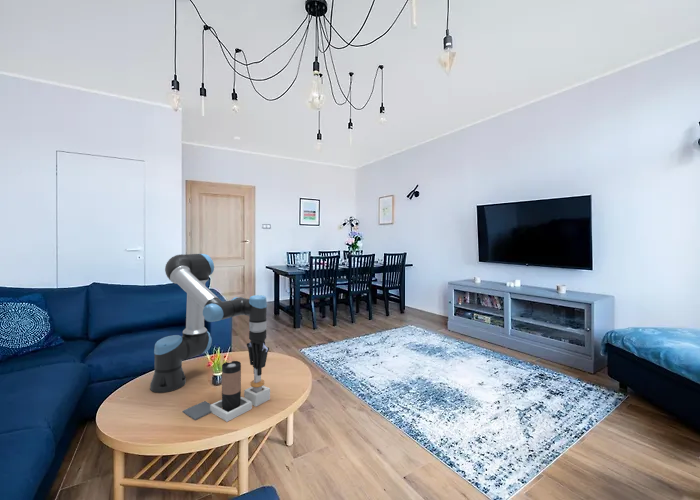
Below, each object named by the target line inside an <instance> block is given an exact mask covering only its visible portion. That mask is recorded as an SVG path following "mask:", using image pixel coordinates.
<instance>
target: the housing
mask: <svg viewBox="0 0 700 500" xmlns="http://www.w3.org/2000/svg"><path fill="white" fill-rule="evenodd" d="M243 395H244V397H243V398H245V399H247V400H249V401H251V402H252V407H258V406H260V405H262V404H264V403H266V402H267V401H269V400H270V399H271V388H270V387H267V386H265V385H263V386H262V391H260V392H258V393H255V392H253V387H251V386H250V387H248V388H246V389H244V391H243Z"/></svg>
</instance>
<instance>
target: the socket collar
mask: <svg viewBox="0 0 700 500" xmlns="http://www.w3.org/2000/svg"><path fill="white" fill-rule="evenodd" d="M210 404H211V405H210V411H211V413H210V414H213V415H214V416H217V417H218V418H220V419H221V420H223V421H225V422H226V423H228V422H229V421H232V420H234V419H235V418H237V417H240V416H241V415H243V414H245V413H247V412H248V411H251V410H252V409H253V405H252V402H251V401H249V400H247V399H245V398H244V397H243V396H241V399H240V406H239V407H237V408H235V409H233V410H231V411H229V412H227V411H225V410H223V409H222V399H219V400H218V401H216V402H213V403H210Z"/></svg>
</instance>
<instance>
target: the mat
mask: <svg viewBox="0 0 700 500" xmlns="http://www.w3.org/2000/svg"><path fill="white" fill-rule="evenodd" d="M211 404H212V403H209V402H208V401H206V400H204V401H202V402H200V403H196V404H195V405H193V406H190V407H188V408H186V409H183V410H182V413H183V414H185V415H187V416H188V417H189V418H191V419H192V420H194V421H197V420H200V419H202V418H203V417H205V416H208V415H209V414H212V413H211V411H210V405H211Z"/></svg>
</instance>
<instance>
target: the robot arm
mask: <svg viewBox="0 0 700 500" xmlns="http://www.w3.org/2000/svg"><path fill="white" fill-rule="evenodd" d="M164 267H165V268H164V272H165V275H166V277H167V278H168V280H169V281H170V282H171V283H172V284H177V285H178V286H179V287H180V289H182V290H183V291H184V292H185V293H186V314H185V317H186V318H185V328H184V329H183V330H182V335H179V334H173V335H168V336H164V337H162V338H160V339H158V340H157V341H156V342H155V344H154V350H153V354H154V373H153V376H152V378H151V381H150V386H149V387H150V388H149V389H150V391H151V392H154V393H168V392H172V391H175V390H179V389H181V388H182V387H184V386H185V384H186V383H187V382H186V381H187V377H186V375H185V372H184V370H183V361H185V360H188V359H191V358H194V357H197V356H201V355H202V354H205V353H207V352H208V351H209V350H210V348H211V346H212V343H213V342H212V341H213V340H212V336H211V333H210V332H209V331H208V329H207V328H206V327H205V321H206V322H208V323H212V322H213V323H214V322H219V321H221V320H222V321H223V320H226V319H231V318H234V317H238V316H247V317H249V318H248V321H249V323H248V328H249V332H248V339H249V340H250V342H248V343H247V342H246V347H247V351H248V357H249V364H250V366H252V368H253V380H254V382H255V383H258V382H260V381H261V379H262V374H263V372H262V370H263V368H265V367H266V363H267V357H268V353H269V351H270V347H267V346H266V341H265V340H266V339H267V327H268V326H267V311H268V309H267V308H268V304H267V301H268V300H267V297H266V296H265V295H259V294H256V295H250V297H249V298H246V297H242V296H241V297H238V296H236V297H232V298H231V299H230V300H224V301H222V300H221V299H220V298H219V297H218V296H217V295H216V294H215V293H213V292H212V291H211V290H210V289H209V288H208V287H207V286H206V283H207V282H208V281H209V279H210V276H211V275H213V273H214V272H215V265H214V261H213V259H212V257H211V256H210V255H208V254H207V253H206V254H205V253H190V254H188V253H187V254H186V253H185V254H175V255H174V256H172V257H171V258H169V259H168V260H167V262H166V264H165V266H164Z"/></svg>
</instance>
